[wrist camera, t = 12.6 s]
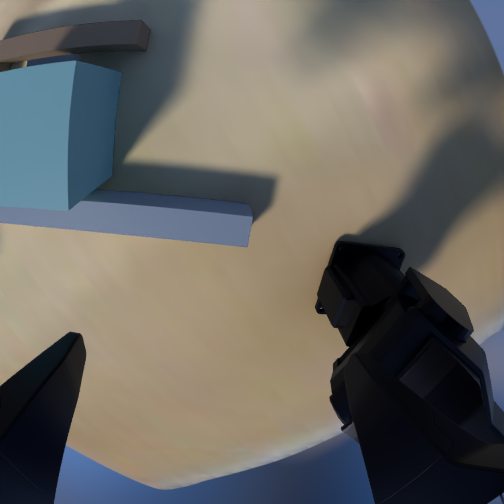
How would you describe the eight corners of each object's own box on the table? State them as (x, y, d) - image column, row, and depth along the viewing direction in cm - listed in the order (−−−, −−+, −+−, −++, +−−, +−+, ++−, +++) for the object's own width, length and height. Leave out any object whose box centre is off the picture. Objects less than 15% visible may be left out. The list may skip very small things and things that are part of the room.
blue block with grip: (123, 63, 16) (78, 47, 9) (112, 175, 19) (68, 211, 13) (57, 67, 15) (-3, 62, 8) (51, 173, 18) (-6, 206, 12)
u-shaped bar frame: (277, 42, 16) (285, 34, 14) (244, 231, 22) (247, 247, 19) (-4, 49, 12) (-23, 48, 10) (-8, 208, 18) (-26, 220, 16)
